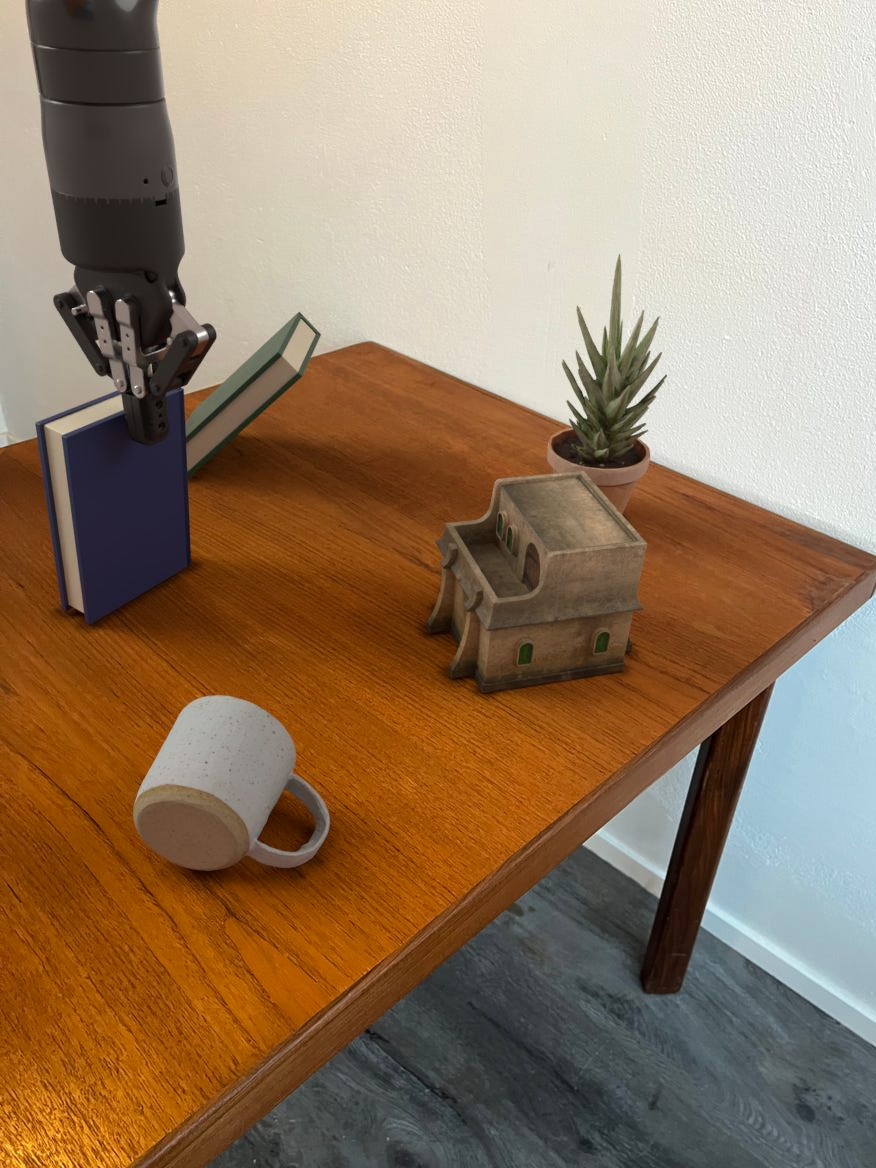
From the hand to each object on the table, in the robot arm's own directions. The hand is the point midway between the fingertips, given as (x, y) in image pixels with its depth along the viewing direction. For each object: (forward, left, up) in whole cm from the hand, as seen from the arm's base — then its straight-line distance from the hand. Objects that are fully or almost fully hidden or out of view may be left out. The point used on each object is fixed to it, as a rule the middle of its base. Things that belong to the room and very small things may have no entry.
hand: (149, 440), depth 72 cm
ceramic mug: (+16, -19, -15) cm, 29 cm away
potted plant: (+28, +29, -15) cm, 43 cm away
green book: (-5, +26, -9) cm, 28 cm away
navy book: (-2, +1, -6) cm, 7 cm away
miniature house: (+27, +8, -15) cm, 32 cm away
